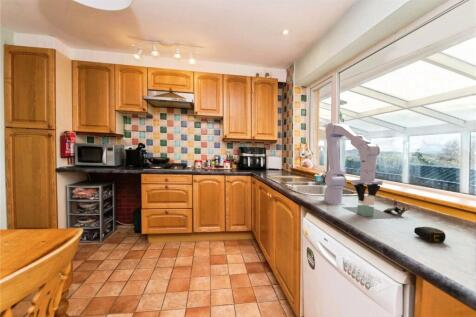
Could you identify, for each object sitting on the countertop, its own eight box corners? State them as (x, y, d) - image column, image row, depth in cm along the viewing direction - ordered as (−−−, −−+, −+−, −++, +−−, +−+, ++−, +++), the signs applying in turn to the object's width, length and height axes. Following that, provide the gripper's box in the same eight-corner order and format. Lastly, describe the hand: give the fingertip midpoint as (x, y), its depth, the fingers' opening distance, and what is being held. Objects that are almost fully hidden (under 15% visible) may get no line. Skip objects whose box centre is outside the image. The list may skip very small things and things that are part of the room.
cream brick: (358, 202, 99) (358, 194, 98) (366, 202, 99) (367, 193, 99) (365, 205, 94) (365, 196, 94) (374, 205, 95) (374, 196, 95)
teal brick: (357, 213, 99) (357, 204, 99) (365, 212, 100) (366, 204, 99) (364, 216, 94) (364, 207, 94) (373, 215, 95) (373, 207, 95)
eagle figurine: (414, 215, 96) (397, 205, 105) (408, 201, 94) (392, 193, 104) (397, 223, 97) (382, 213, 106) (391, 210, 95) (376, 201, 104)
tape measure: (412, 235, 75) (413, 225, 75) (434, 237, 74) (435, 226, 74) (426, 243, 69) (426, 232, 68) (450, 246, 67) (451, 234, 67)
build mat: (341, 208, 108) (341, 207, 108) (369, 207, 111) (369, 206, 111) (369, 219, 91) (369, 218, 91) (401, 218, 93) (401, 218, 93)
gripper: (360, 171, 91) (358, 202, 92) (389, 171, 93) (387, 202, 94) (348, 169, 98) (347, 199, 99) (376, 170, 100) (374, 198, 101)
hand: (365, 200), depth 97 cm, fingers closed on cream brick, 4 cm apart
